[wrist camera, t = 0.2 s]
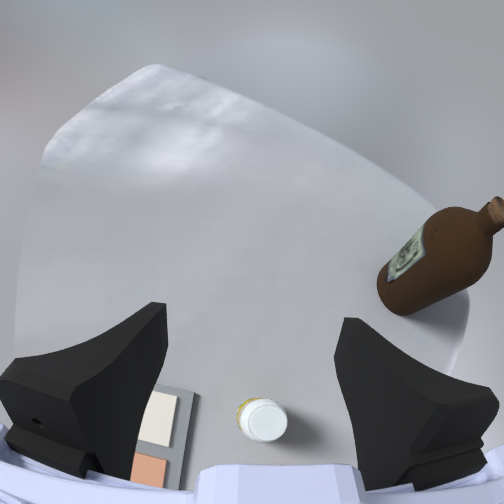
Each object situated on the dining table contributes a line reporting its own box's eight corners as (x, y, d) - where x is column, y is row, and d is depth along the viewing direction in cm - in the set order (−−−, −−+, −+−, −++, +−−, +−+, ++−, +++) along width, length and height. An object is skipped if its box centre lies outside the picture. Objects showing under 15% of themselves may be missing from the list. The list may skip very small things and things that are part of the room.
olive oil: (431, 280, 50) (530, 205, 28) (413, 331, 45) (530, 270, 23) (385, 247, 52) (473, 153, 29) (362, 297, 47) (465, 211, 25)
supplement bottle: (227, 415, 38) (231, 421, 29) (257, 389, 40) (269, 388, 31) (255, 443, 36) (267, 456, 28) (284, 417, 38) (303, 422, 30)
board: (175, 510, 31) (174, 514, 29) (98, 489, 30) (94, 491, 29) (194, 392, 38) (193, 392, 37) (116, 373, 38) (112, 372, 37)
